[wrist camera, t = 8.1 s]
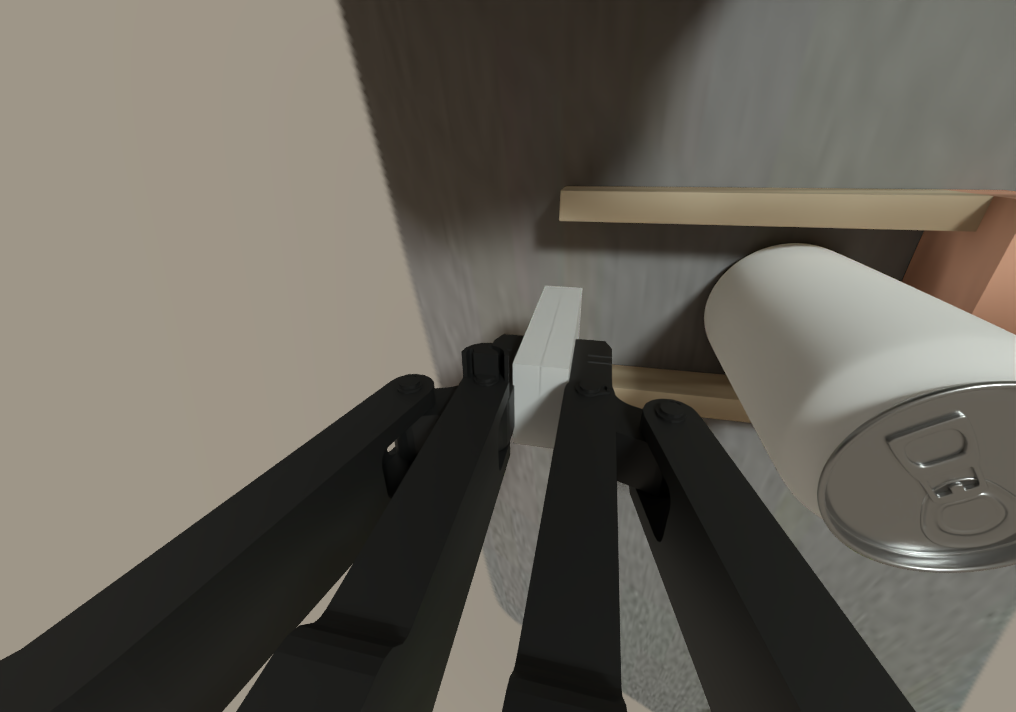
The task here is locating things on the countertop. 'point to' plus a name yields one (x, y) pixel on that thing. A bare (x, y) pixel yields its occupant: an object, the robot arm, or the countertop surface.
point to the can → (875, 405)
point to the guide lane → (933, 268)
